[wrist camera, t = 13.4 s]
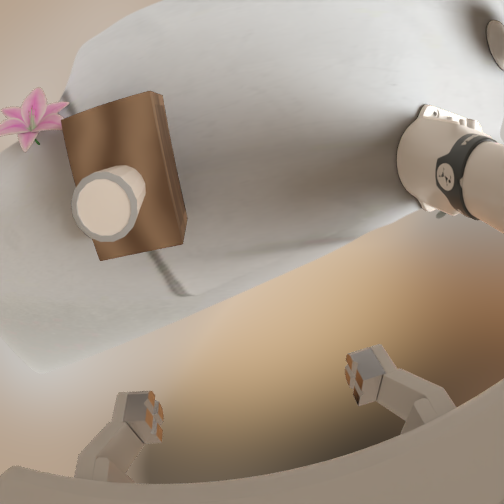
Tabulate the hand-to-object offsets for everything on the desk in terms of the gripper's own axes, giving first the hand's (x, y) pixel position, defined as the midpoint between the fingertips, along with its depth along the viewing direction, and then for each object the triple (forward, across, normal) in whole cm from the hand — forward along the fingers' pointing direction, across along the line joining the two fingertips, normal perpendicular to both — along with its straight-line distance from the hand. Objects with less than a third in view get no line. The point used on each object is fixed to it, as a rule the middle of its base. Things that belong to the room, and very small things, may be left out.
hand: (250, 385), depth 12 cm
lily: (+34, +23, -16) cm, 45 cm away
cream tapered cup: (+25, +11, -4) cm, 28 cm away
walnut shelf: (+34, +11, -5) cm, 36 cm away
